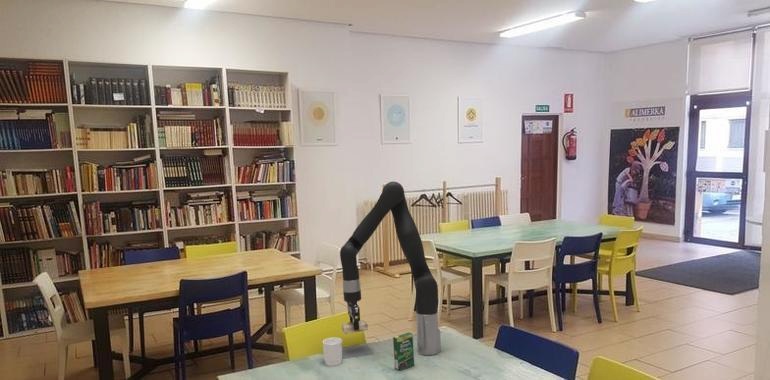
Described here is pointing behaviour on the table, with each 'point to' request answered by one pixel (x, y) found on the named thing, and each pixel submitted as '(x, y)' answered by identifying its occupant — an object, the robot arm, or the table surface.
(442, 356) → the table surface
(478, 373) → the table surface
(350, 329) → the lid board
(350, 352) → the mat
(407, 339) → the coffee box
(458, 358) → the table surface
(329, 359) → the white cup
